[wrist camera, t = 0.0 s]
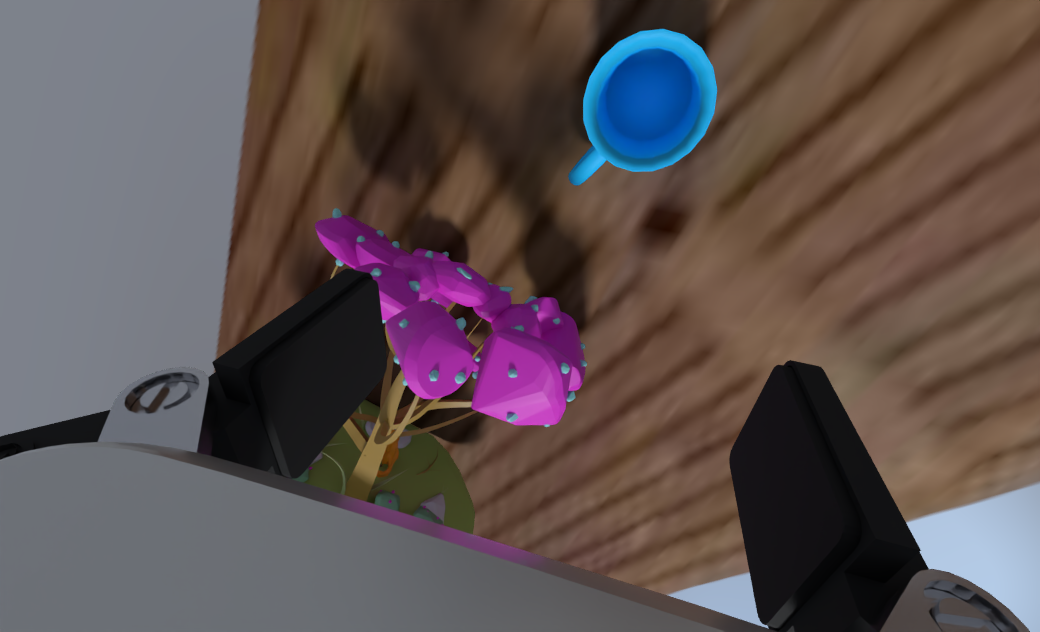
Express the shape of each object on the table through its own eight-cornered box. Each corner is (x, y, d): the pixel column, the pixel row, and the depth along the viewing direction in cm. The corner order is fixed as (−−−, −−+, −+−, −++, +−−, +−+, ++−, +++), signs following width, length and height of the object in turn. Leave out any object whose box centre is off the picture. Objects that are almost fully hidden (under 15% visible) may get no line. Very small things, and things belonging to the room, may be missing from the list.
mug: (653, 6, 31) (653, -7, 24) (727, 89, 32) (747, 99, 26) (545, 137, 38) (521, 156, 31) (610, 202, 39) (601, 233, 32)
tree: (128, 592, 35) (226, 242, 19) (281, 367, 59) (378, 133, 43) (461, 658, 44) (704, 457, 29) (474, 441, 68) (610, 269, 53)
